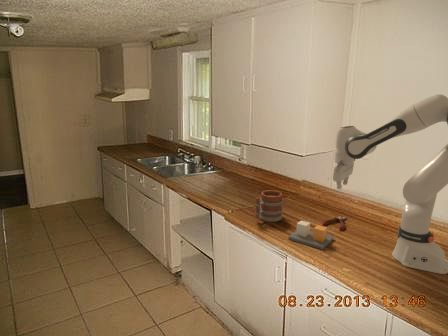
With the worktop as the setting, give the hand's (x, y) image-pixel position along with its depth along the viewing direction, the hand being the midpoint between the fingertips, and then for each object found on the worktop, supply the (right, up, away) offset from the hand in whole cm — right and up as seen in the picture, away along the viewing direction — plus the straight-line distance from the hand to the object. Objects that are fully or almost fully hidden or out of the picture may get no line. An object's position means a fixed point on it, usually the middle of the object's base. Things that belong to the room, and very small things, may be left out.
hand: (342, 186), depth 166 cm
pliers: (+6, -23, +23) cm, 33 cm away
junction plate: (-15, -27, +3) cm, 31 cm away
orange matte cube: (-11, -26, 0) cm, 28 cm away
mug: (-33, -20, +29) cm, 49 cm away
